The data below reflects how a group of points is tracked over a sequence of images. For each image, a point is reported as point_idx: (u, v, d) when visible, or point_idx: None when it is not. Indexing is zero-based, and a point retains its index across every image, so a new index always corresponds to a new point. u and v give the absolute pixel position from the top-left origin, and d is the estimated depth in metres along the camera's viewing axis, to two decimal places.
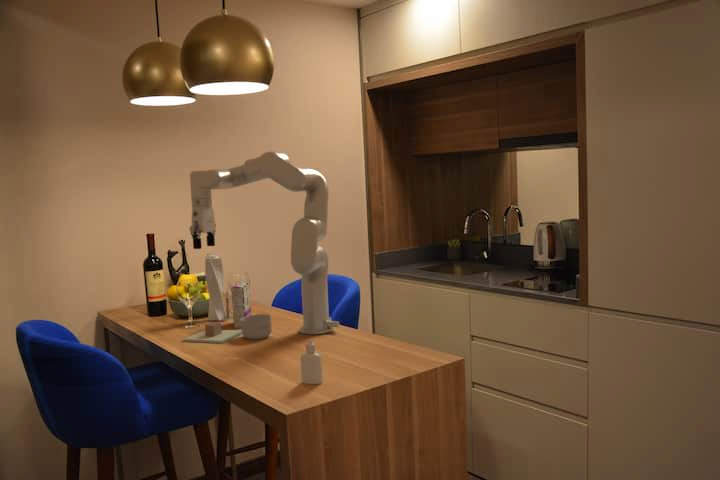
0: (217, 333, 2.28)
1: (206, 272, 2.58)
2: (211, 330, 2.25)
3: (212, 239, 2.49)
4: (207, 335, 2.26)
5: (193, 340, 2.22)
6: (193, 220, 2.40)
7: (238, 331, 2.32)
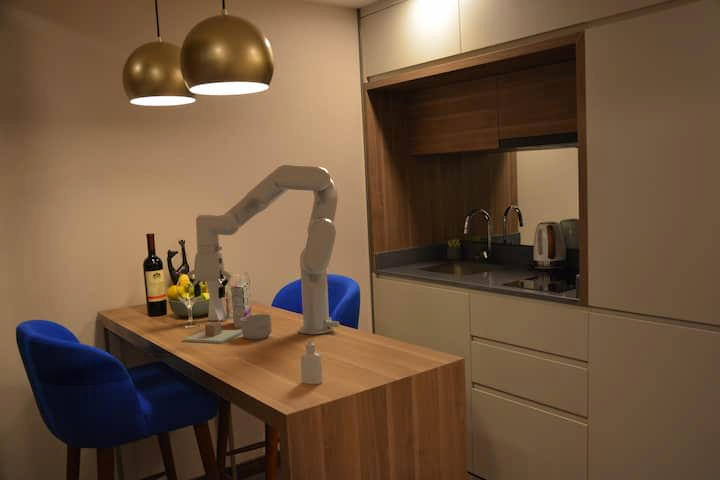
0: (217, 333, 2.28)
1: None
2: (211, 330, 2.25)
3: (200, 289, 2.29)
4: (207, 335, 2.26)
5: (193, 340, 2.22)
6: (219, 268, 2.24)
7: (238, 331, 2.32)
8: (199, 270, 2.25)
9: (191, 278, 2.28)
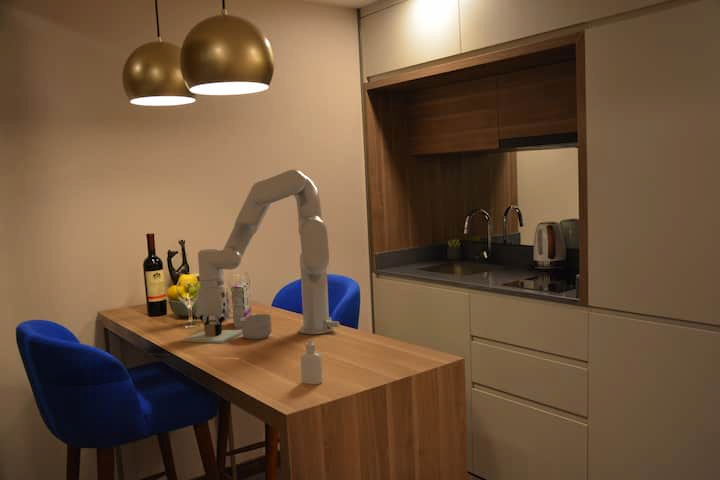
0: None
1: None
2: (211, 330, 2.25)
3: None
4: (207, 335, 2.26)
5: (193, 340, 2.22)
6: (222, 302, 2.25)
7: (238, 331, 2.32)
8: (202, 305, 2.26)
9: (200, 316, 2.28)
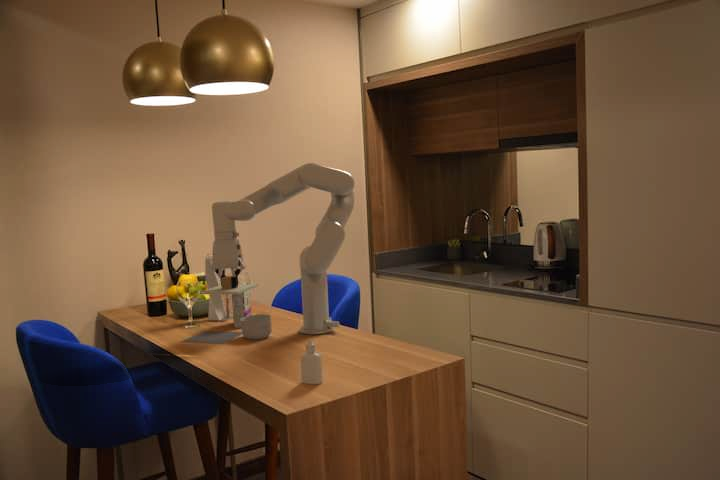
0: None
1: (206, 272, 2.58)
2: (227, 282, 2.24)
3: None
4: (223, 288, 2.24)
5: (209, 293, 2.21)
6: (237, 254, 2.23)
7: (254, 284, 2.30)
8: (217, 257, 2.24)
9: (216, 269, 2.27)
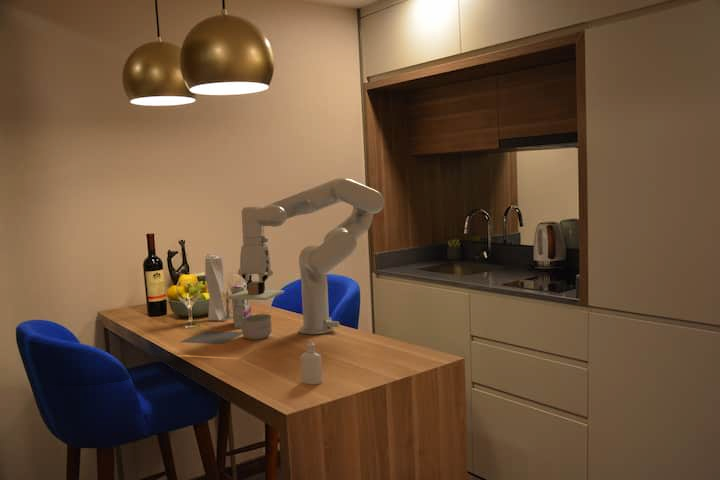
0: None
1: (206, 272, 2.58)
2: (254, 288, 2.23)
3: None
4: (250, 293, 2.24)
5: (237, 297, 2.20)
6: (265, 260, 2.22)
7: (280, 290, 2.30)
8: (245, 263, 2.23)
9: (243, 274, 2.26)
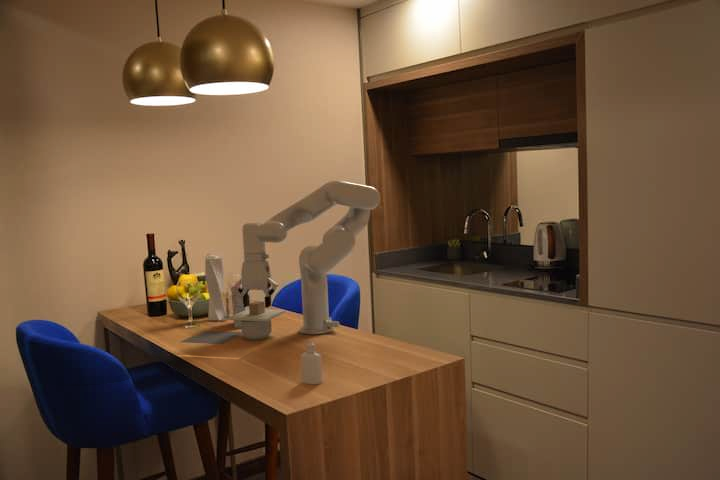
0: (261, 312, 2.26)
1: (206, 272, 2.58)
2: (255, 308, 2.23)
3: (248, 298, 2.28)
4: (251, 314, 2.24)
5: (238, 319, 2.20)
6: (267, 276, 2.23)
7: (281, 310, 2.30)
8: (246, 279, 2.24)
9: (240, 288, 2.27)
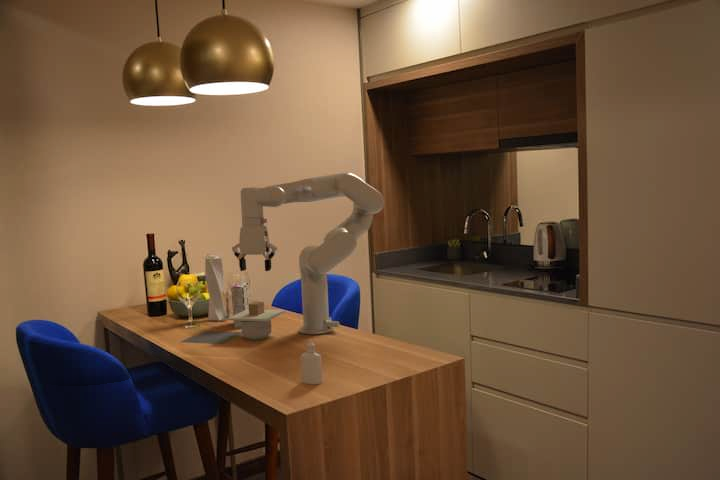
0: (260, 312, 2.25)
1: (206, 272, 2.58)
2: (255, 309, 2.23)
3: (245, 262, 2.27)
4: (251, 314, 2.24)
5: (237, 319, 2.20)
6: (265, 240, 2.22)
7: (281, 310, 2.30)
8: (244, 243, 2.23)
9: (236, 252, 2.26)
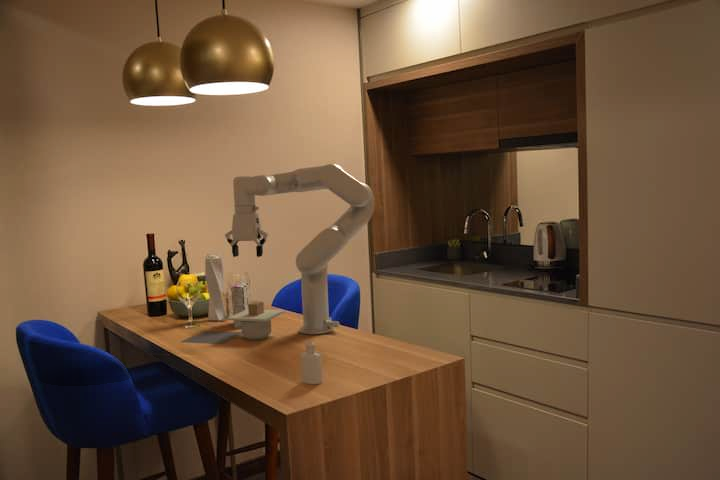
0: (260, 312, 2.25)
1: (206, 272, 2.58)
2: (255, 309, 2.23)
3: (237, 249, 2.37)
4: (250, 314, 2.24)
5: (237, 319, 2.20)
6: (256, 227, 2.31)
7: (280, 311, 2.30)
8: (237, 230, 2.32)
9: (229, 238, 2.35)
